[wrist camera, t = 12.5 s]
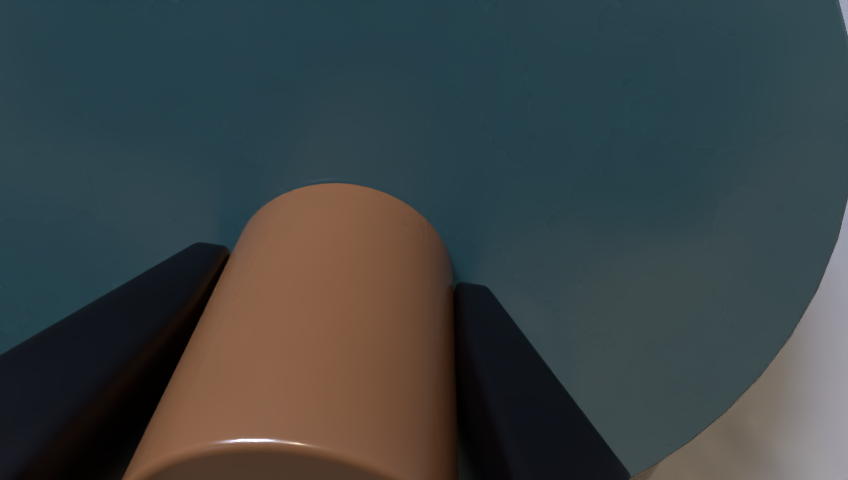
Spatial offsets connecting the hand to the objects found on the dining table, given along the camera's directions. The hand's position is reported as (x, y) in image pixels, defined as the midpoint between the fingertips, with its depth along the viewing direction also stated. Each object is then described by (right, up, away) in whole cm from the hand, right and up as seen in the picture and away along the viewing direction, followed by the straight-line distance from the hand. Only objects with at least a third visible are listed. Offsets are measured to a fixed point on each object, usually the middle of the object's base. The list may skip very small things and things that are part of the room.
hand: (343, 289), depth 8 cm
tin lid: (0, 0, +1) cm, 1 cm away
